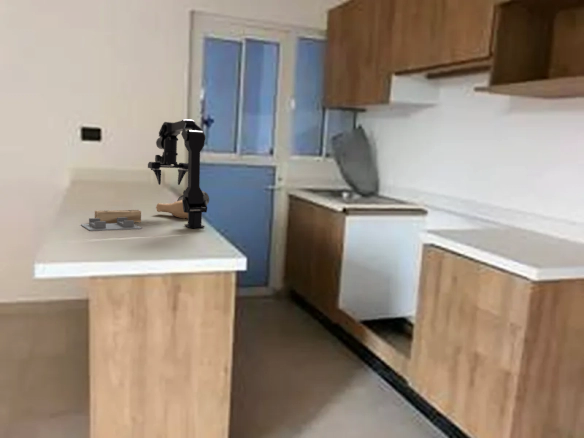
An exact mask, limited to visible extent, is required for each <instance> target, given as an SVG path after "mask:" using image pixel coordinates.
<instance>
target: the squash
mask: <svg viewBox="0 0 584 438" xmlns="http://www.w3.org/2000/svg"><path fill="white" fill-rule="evenodd" d="M155 206H156V207H155V209H156V212H157V213H168V214H171V215H172V216H174V217H177V218H181V219H185V218H186V219H188V213H186V212H184V211H183V203H182V200H181V201H174V202H171V203H162V202H159V203H157V204H156V205H155Z"/></svg>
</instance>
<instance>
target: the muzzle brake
mask: <svg viewBox="0 0 584 438" xmlns="http://www.w3.org/2000/svg"><path fill="white" fill-rule="evenodd" d="M202 192H203V198H204V200H205V203H206V206H207V207H208V205H209V202H210V196H209V194H208V193H207V192H205V190H202ZM181 200H183V194H182V195H180V196H179V197H178V198H177V201H181ZM177 201H176V202H177Z"/></svg>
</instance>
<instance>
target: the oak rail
mask: <svg viewBox="0 0 584 438" xmlns="http://www.w3.org/2000/svg"><path fill="white" fill-rule="evenodd" d="M119 217H127V218H128V220H134V224H135V222H139V223H141V222H142V211H141V210H139V209H121V210H120V209H115V210H112V209H111V210H109V209H108V210H106V209H105V210H94V218H100V221H106V223H117V218H119ZM128 220H127V221H128Z"/></svg>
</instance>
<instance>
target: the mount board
mask: <svg viewBox="0 0 584 438" xmlns="http://www.w3.org/2000/svg"><path fill="white" fill-rule="evenodd" d="M127 220H128V218H127V217H119V218H117V223H106V221H100V218H95V217H91V218H89V217H88V223H84V224H83V223H81V224H80V226H81V227H83V228H85V230H87V231H89V232H96V231H97V232H99V231H121V230H122V231H123V230H141V229H143V228H142V227H141V226H139V225H137V224H135V223H134V220H128V221H127Z"/></svg>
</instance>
